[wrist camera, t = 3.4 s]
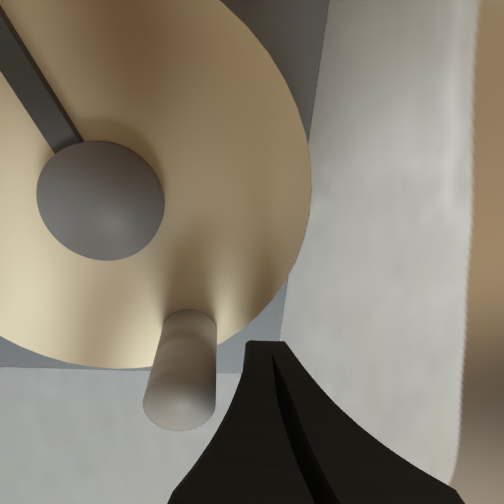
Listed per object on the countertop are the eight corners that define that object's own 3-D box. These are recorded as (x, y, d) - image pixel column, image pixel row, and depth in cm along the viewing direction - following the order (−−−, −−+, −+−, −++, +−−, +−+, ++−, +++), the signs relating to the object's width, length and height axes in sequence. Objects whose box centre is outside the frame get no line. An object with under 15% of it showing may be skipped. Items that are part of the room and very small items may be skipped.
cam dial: (-45, 338, 15) (-169, 447, 10) (-141, -70, 10) (-467, -226, 5) (278, 349, 16) (301, 450, 11) (331, -5, 11) (408, -81, 7)
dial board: (-36, 343, 17) (-86, 389, 14) (-141, -114, 11) (-262, -187, 8) (270, 353, 18) (278, 397, 15) (325, -44, 12) (354, -86, 9)
